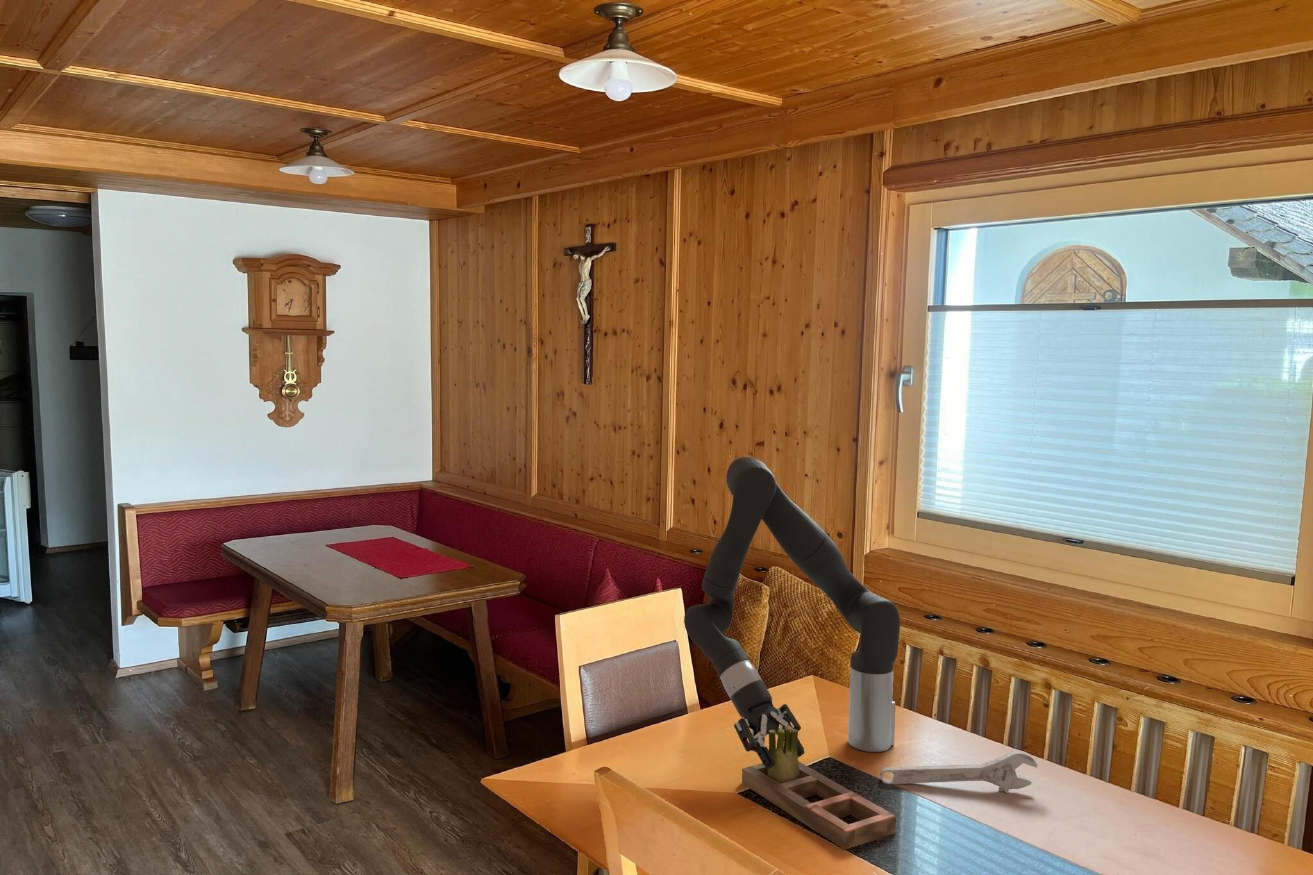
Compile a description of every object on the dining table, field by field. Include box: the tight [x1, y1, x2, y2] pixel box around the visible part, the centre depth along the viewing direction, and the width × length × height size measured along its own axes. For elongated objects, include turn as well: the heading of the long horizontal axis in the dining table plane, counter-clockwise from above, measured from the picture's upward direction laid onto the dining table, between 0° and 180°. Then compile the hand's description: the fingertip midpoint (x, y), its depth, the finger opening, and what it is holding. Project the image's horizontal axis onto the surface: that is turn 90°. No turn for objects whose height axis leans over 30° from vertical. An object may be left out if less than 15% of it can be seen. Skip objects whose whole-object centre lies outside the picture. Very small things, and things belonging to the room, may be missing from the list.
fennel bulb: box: [768, 727, 799, 784], centre depth 186 cm, size 6×5×12 cm
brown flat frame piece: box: [741, 760, 897, 850], centre depth 179 cm, size 12×30×3 cm, turn 31°
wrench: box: [879, 750, 1038, 794], centre depth 188 cm, size 8×2×30 cm
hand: (786, 760), depth 186 cm, fingers open, 8 cm apart
